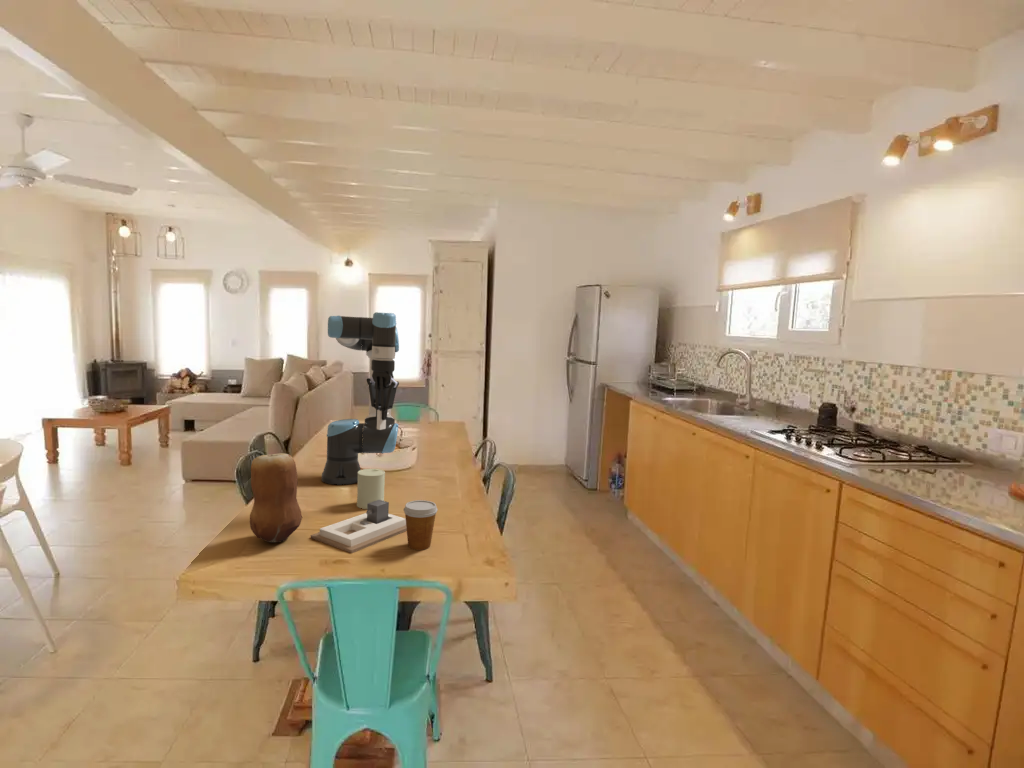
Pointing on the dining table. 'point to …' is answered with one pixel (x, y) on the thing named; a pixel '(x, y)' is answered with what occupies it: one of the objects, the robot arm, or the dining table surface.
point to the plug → (377, 511)
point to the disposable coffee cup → (420, 523)
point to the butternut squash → (274, 497)
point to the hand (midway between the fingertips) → (381, 428)
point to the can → (370, 486)
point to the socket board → (360, 532)
